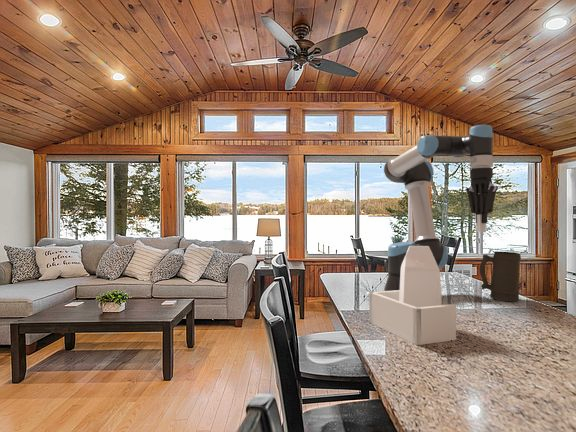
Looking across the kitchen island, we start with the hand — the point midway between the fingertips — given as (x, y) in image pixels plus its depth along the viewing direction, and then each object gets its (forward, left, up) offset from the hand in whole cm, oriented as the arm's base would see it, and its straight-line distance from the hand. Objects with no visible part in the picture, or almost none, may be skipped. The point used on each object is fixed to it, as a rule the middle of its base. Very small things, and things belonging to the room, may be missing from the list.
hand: (481, 232), depth 145 cm
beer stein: (-14, +24, -30) cm, 41 cm away
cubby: (+10, -39, -29) cm, 50 cm away
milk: (+8, -34, -30) cm, 46 cm away
